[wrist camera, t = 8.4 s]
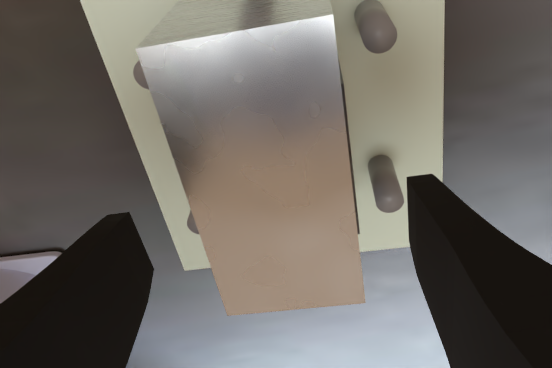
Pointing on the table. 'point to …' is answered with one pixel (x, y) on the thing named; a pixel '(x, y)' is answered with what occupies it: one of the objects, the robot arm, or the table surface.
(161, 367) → the table surface
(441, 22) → the peg board
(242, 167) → the block
